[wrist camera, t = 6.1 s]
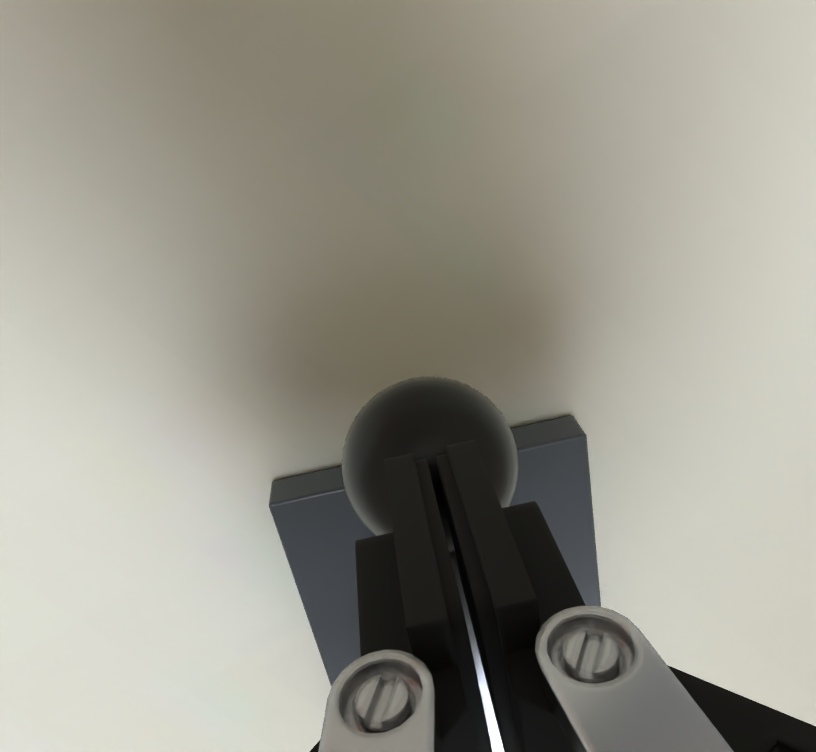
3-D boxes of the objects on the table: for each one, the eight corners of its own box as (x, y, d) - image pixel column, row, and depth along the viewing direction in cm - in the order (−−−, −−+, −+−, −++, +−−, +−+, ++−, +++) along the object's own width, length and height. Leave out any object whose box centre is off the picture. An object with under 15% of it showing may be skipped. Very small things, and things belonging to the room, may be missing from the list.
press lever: (335, 399, 16) (313, 393, 12) (485, 367, 16) (508, 350, 12) (459, 986, 15) (476, 1169, 11) (618, 949, 15) (686, 1120, 11)
